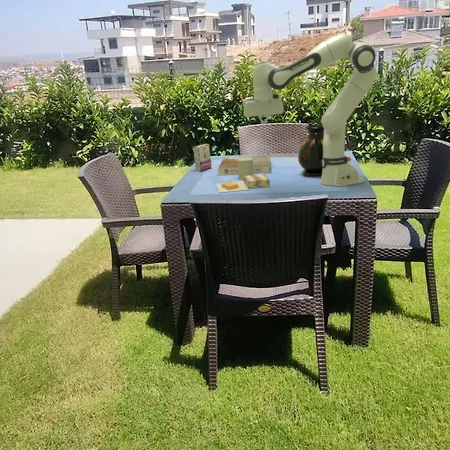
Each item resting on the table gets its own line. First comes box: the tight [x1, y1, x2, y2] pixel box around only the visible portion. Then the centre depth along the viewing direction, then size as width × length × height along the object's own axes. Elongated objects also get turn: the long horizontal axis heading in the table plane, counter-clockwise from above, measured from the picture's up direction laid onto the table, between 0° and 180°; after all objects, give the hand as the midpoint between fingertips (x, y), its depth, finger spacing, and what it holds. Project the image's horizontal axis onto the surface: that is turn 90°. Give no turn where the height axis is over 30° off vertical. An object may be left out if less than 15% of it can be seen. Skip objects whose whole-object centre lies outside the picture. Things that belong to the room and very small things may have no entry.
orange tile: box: [220, 181, 239, 190], centre depth 243 cm, size 6×9×2 cm, turn 26°
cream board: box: [215, 180, 250, 194], centre depth 246 cm, size 16×20×1 cm
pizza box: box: [217, 155, 271, 177], centre depth 288 cm, size 32×5×32 cm
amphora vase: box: [297, 123, 324, 178], centre depth 256 cm, size 22×22×28 cm
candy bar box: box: [193, 143, 212, 173], centre depth 292 cm, size 11×5×16 cm, turn 143°
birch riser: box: [243, 173, 271, 190], centre depth 246 cm, size 12×14×4 cm
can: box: [238, 158, 255, 181], centre depth 262 cm, size 9×9×12 cm
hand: (264, 124), depth 227 cm, fingers closed
